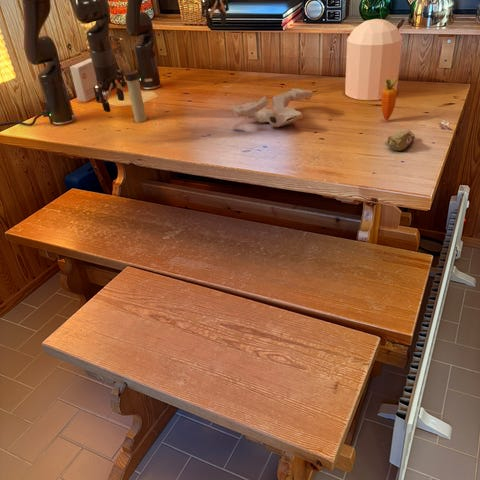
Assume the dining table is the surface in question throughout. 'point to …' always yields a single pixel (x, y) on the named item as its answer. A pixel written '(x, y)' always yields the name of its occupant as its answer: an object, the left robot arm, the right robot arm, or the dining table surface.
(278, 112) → the beige irregular branched piece
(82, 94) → the skincare box
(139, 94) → the jar
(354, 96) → the container
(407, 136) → the rock
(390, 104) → the carrot
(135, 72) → the lid
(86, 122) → the dining table surface
